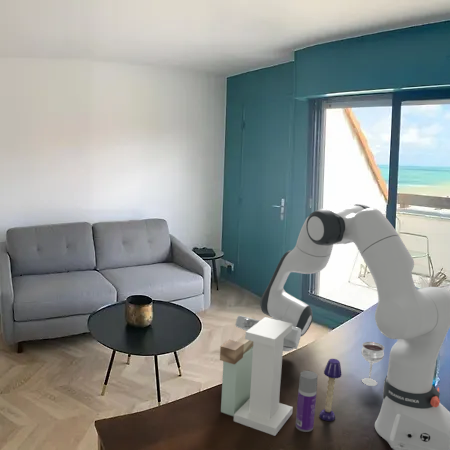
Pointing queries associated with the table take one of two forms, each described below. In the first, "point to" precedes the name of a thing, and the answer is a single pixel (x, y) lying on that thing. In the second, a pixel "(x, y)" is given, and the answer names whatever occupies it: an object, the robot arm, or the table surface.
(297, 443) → the table surface
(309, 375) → the container
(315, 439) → the table surface
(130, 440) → the table surface
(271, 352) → the white i-beam pillar
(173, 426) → the table surface
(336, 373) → the toy lamp
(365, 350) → the wineglass
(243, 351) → the tan long block
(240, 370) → the pale green rectangular block
